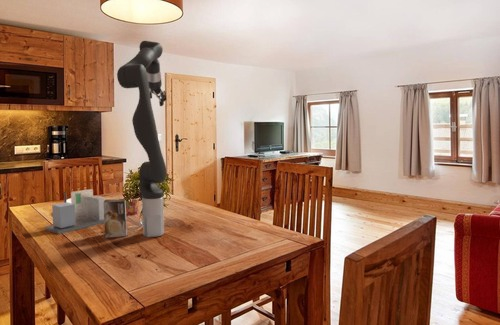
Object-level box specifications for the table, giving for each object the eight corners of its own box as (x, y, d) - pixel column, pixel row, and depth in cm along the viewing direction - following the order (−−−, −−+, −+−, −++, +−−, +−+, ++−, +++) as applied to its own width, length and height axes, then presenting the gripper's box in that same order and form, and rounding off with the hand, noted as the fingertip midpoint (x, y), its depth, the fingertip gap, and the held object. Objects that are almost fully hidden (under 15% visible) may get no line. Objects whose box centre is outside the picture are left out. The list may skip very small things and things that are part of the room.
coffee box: (127, 232, 163) (126, 198, 161) (126, 236, 156) (125, 201, 155) (106, 233, 160) (105, 199, 159) (104, 238, 154) (103, 202, 152)
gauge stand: (58, 234, 158) (56, 199, 157) (45, 229, 165) (43, 196, 164) (106, 222, 178) (105, 191, 176) (92, 218, 185) (91, 189, 183)
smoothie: (120, 214, 195) (119, 178, 193) (132, 211, 202) (131, 176, 200) (131, 216, 191) (130, 180, 189) (142, 213, 198) (142, 178, 196)
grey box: (60, 228, 162) (59, 196, 160) (52, 225, 166) (50, 194, 164) (75, 224, 167) (74, 193, 166) (67, 222, 172) (65, 192, 170)
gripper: (138, 74, 181) (141, 99, 193) (158, 86, 177) (160, 111, 189) (149, 68, 185) (151, 93, 198) (169, 80, 181) (170, 104, 193)
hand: (155, 102), depth 193 cm, fingers open, 8 cm apart
